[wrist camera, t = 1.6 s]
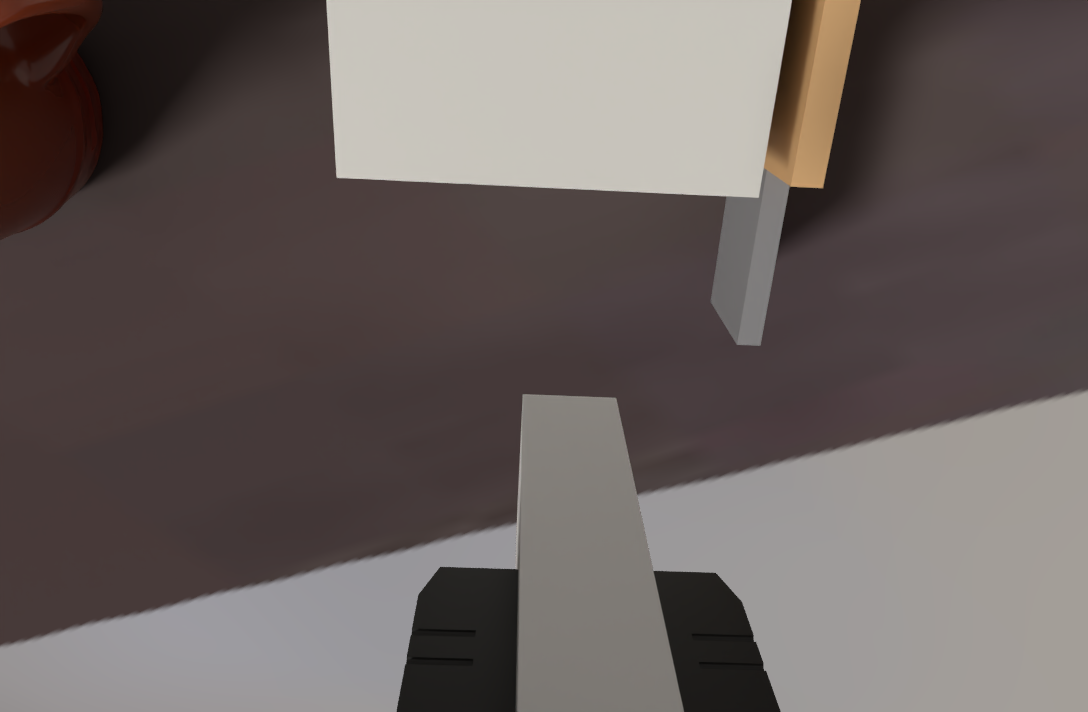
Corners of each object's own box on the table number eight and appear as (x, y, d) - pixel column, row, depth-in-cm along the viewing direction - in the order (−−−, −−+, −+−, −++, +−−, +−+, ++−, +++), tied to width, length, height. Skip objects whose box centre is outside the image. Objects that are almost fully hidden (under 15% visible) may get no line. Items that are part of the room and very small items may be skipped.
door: (683, 286, 28) (735, 380, 21) (762, -294, 21) (878, -437, 14) (722, 288, 28) (787, 382, 21) (813, -290, 21) (953, -429, 14)
